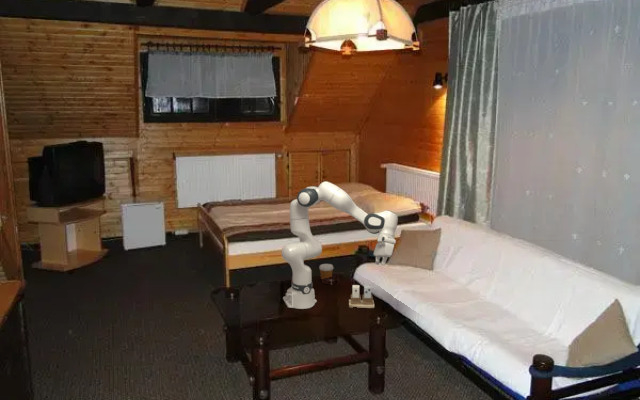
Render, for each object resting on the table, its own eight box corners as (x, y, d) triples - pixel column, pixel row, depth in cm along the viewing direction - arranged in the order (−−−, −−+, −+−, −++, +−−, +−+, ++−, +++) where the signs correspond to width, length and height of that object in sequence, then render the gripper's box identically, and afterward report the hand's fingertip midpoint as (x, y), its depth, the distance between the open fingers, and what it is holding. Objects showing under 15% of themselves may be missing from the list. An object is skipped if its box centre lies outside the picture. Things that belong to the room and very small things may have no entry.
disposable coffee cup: (320, 280, 360) (320, 263, 357) (334, 280, 359) (334, 263, 356) (318, 285, 351) (318, 267, 348) (332, 285, 349) (332, 268, 347)
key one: (352, 296, 320) (352, 285, 319) (359, 297, 320) (359, 285, 318) (352, 299, 316) (352, 287, 315) (359, 299, 316) (359, 287, 314)
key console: (349, 301, 324) (349, 293, 322) (373, 301, 323) (373, 293, 322) (349, 307, 315) (349, 299, 314) (374, 307, 314) (374, 299, 313)
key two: (364, 297, 320) (364, 285, 318) (370, 297, 320) (370, 285, 318) (364, 299, 316) (364, 287, 314) (371, 299, 315) (371, 288, 314)
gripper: (374, 239, 302) (368, 262, 300) (386, 238, 282) (380, 263, 280) (384, 241, 303) (379, 265, 301) (397, 241, 284) (391, 266, 281)
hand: (379, 264), depth 291 cm, fingers open, 8 cm apart
